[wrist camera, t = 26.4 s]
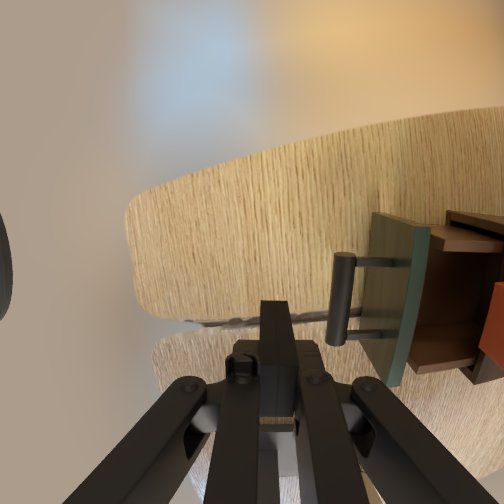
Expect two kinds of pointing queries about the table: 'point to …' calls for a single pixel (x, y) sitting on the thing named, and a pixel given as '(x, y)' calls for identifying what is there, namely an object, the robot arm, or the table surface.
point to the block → (495, 327)
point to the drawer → (417, 295)
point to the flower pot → (371, 490)
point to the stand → (275, 460)
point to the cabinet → (485, 365)
